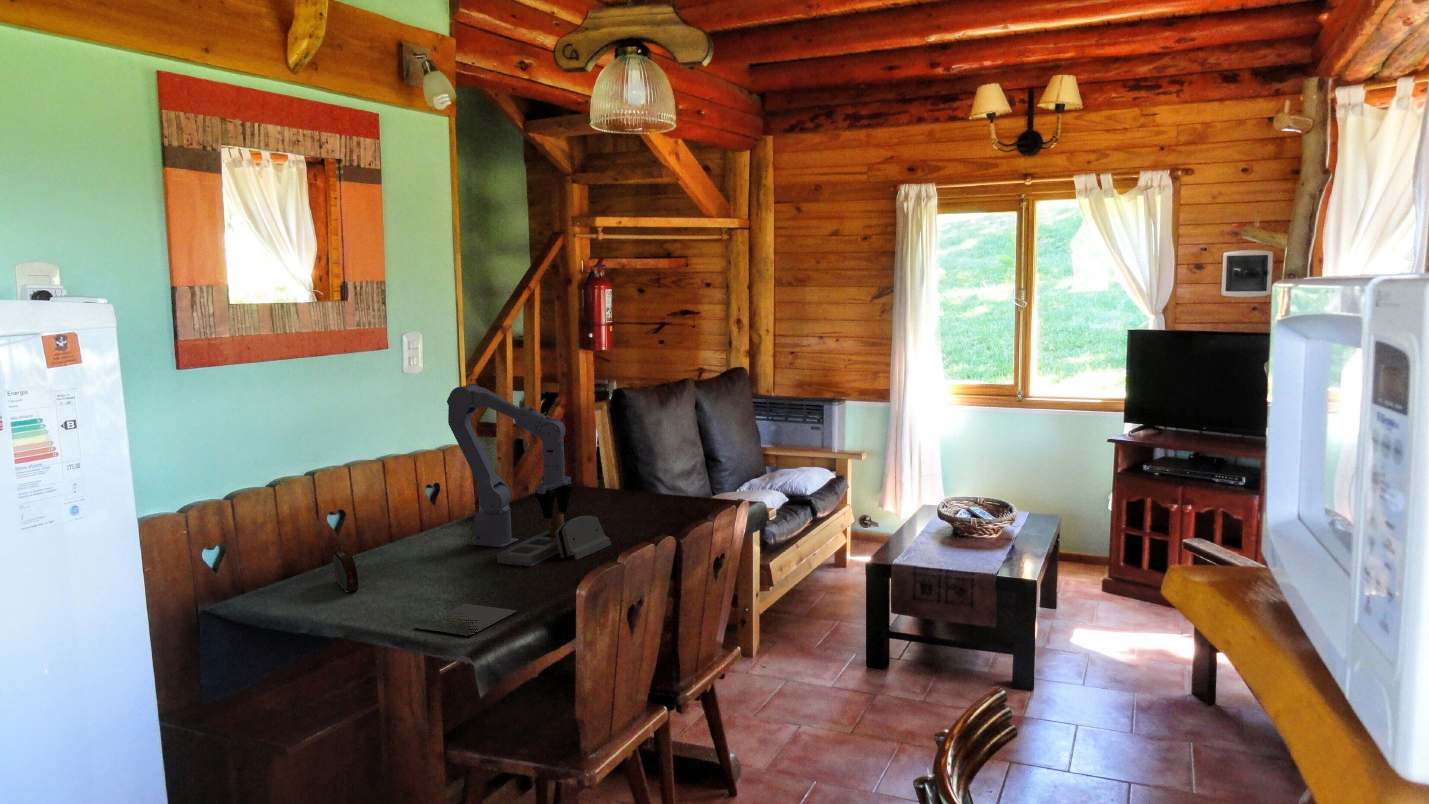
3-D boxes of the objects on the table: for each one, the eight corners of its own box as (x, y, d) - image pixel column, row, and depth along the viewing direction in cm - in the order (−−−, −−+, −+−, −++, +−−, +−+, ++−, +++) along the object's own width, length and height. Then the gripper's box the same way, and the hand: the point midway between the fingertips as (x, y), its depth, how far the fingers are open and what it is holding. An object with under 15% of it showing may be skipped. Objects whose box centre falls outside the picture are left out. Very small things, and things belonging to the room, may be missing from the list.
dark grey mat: (376, 626, 204) (376, 622, 204) (454, 591, 226) (454, 588, 226) (468, 639, 194) (468, 636, 194) (539, 601, 217) (539, 598, 217)
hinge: (576, 559, 249) (563, 522, 250) (562, 564, 251) (549, 527, 252) (612, 544, 264) (600, 508, 264) (598, 548, 266) (587, 513, 267)
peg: (547, 545, 264) (545, 516, 263) (554, 541, 268) (553, 512, 267) (560, 546, 263) (558, 517, 262) (567, 542, 266) (566, 513, 265)
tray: (497, 563, 248) (496, 553, 247) (550, 537, 272) (550, 529, 271) (531, 566, 244) (531, 556, 244) (582, 540, 268) (582, 531, 268)
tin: (360, 594, 225) (358, 558, 224) (346, 596, 223) (343, 560, 222) (346, 578, 237) (343, 544, 236) (332, 581, 236) (330, 546, 235)
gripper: (552, 470, 255) (554, 521, 256) (580, 461, 268) (581, 509, 270) (529, 469, 257) (531, 520, 259) (557, 460, 271) (559, 508, 272)
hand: (555, 514), depth 264 cm, fingers open, 7 cm apart
